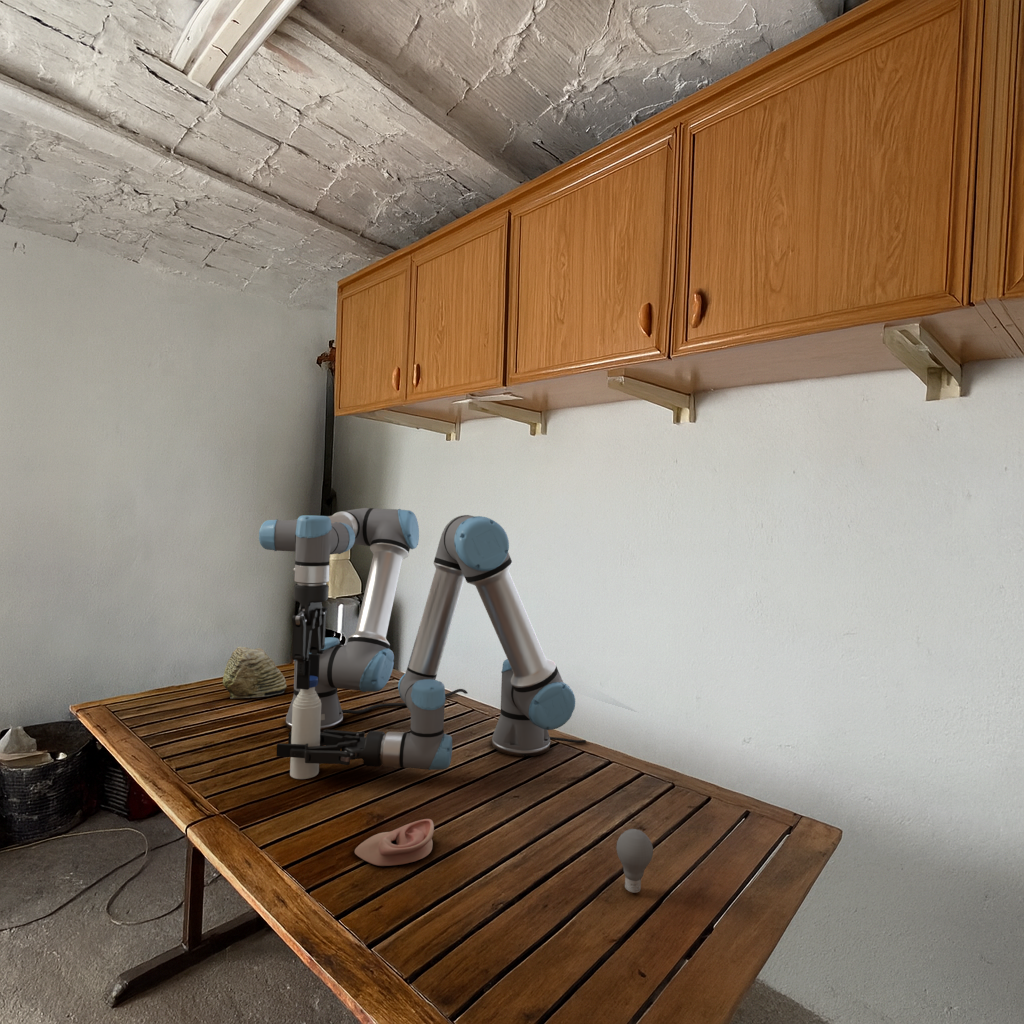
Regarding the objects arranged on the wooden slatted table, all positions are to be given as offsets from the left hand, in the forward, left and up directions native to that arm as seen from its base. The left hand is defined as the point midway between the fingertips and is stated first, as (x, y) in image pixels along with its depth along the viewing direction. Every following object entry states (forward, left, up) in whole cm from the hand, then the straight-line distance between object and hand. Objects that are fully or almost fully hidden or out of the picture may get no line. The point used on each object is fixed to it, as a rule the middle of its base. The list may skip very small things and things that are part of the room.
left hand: (307, 685), depth 144 cm
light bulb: (-12, +77, -20) cm, 81 cm away
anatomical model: (+7, +39, -20) cm, 45 cm away
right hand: (+3, -4, -14) cm, 15 cm away
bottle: (0, 0, -20) cm, 20 cm away
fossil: (-21, -59, -20) cm, 66 cm away
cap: (0, 0, +1) cm, 1 cm away
